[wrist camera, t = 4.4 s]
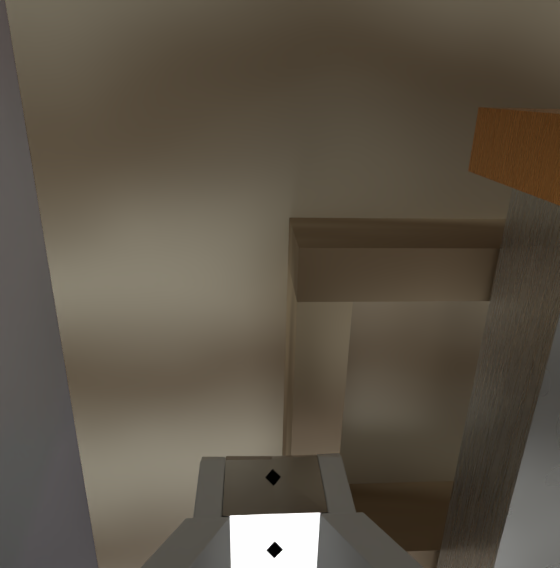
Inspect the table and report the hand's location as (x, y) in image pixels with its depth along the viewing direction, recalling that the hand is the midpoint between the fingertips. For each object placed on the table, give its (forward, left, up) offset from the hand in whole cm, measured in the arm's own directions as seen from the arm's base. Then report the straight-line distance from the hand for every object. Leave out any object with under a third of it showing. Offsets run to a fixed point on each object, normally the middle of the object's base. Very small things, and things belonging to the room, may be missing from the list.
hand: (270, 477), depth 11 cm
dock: (0, -5, -5) cm, 7 cm away
